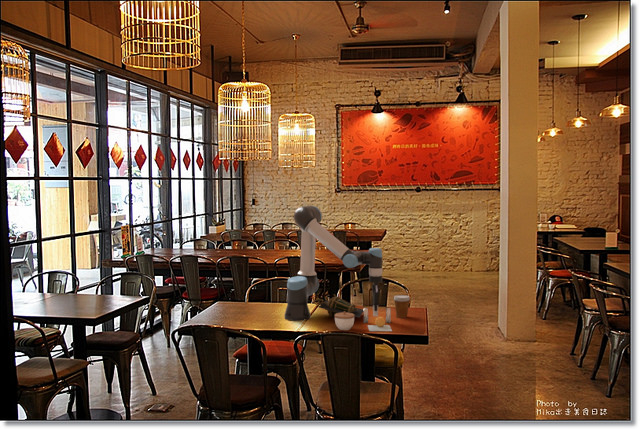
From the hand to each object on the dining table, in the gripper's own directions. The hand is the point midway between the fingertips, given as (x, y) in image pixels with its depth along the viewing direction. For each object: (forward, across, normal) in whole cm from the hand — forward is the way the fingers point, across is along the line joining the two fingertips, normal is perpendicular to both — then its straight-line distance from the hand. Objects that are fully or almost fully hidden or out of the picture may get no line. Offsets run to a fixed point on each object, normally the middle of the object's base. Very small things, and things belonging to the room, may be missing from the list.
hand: (375, 315), depth 330 cm
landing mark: (+2, -21, 0) cm, 21 cm away
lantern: (+2, +5, +22) cm, 22 cm away
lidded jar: (+2, -22, +19) cm, 29 cm away
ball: (-1, -17, -1) cm, 17 cm away
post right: (+2, -8, -6) cm, 10 cm away
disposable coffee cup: (+2, +6, -16) cm, 17 cm away
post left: (+2, -8, +6) cm, 10 cm away
